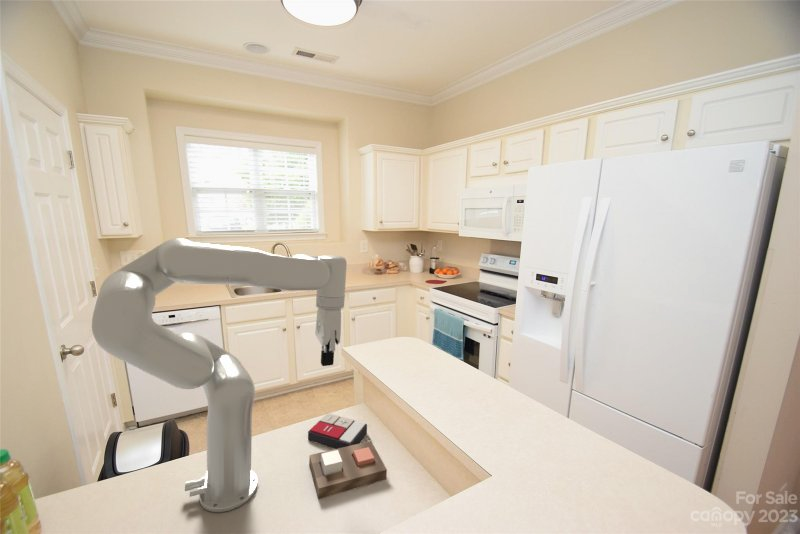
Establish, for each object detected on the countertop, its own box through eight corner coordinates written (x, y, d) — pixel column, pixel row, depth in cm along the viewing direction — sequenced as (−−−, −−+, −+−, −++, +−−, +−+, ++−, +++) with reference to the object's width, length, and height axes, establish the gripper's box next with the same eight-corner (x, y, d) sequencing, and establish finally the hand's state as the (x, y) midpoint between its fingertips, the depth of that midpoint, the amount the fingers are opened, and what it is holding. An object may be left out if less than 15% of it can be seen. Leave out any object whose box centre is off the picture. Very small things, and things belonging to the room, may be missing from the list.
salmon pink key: (357, 475, 89) (358, 461, 88) (352, 463, 93) (353, 450, 92) (373, 470, 91) (374, 457, 90) (367, 459, 95) (368, 447, 94)
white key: (324, 479, 85) (325, 465, 84) (320, 467, 89) (321, 453, 88) (341, 475, 87) (342, 461, 86) (337, 463, 91) (337, 449, 90)
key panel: (318, 499, 81) (318, 488, 80) (309, 464, 91) (309, 455, 91) (386, 479, 88) (386, 469, 88) (370, 449, 99) (371, 440, 99)
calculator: (327, 411, 111) (367, 421, 106) (327, 422, 112) (367, 434, 106) (307, 429, 101) (350, 442, 96) (307, 442, 101) (350, 455, 96)
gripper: (311, 294, 95) (308, 355, 98) (322, 309, 82) (319, 378, 84) (336, 293, 98) (333, 352, 101) (351, 308, 85) (347, 374, 88)
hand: (327, 364), depth 93 cm, fingers closed
